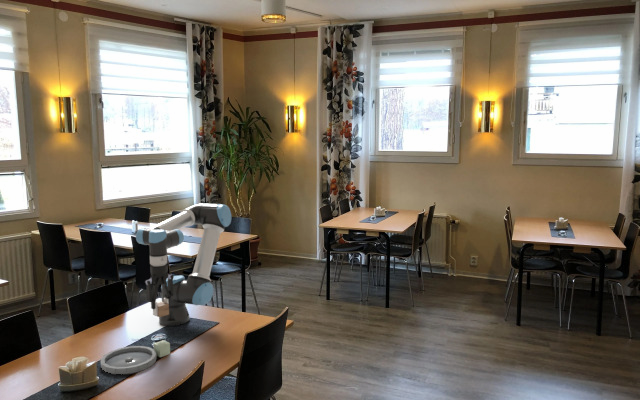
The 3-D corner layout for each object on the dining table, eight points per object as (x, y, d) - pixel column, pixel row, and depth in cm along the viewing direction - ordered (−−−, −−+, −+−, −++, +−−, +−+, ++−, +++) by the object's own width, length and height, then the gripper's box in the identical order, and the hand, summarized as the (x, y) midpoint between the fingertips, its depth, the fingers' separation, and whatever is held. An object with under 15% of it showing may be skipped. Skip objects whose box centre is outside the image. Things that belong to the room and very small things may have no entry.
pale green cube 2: (154, 354, 230) (153, 343, 229) (164, 350, 234) (163, 340, 233) (160, 357, 227) (159, 346, 226) (170, 353, 230) (169, 343, 230)
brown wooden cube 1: (153, 314, 238) (152, 304, 238) (162, 311, 242) (162, 301, 241) (159, 317, 235) (158, 306, 234) (169, 314, 239) (168, 303, 238)
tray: (91, 363, 220) (91, 357, 220) (139, 347, 237) (138, 341, 237) (117, 379, 206) (117, 373, 206) (166, 361, 223) (166, 355, 222)
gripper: (145, 269, 226) (147, 321, 229) (180, 261, 240) (182, 310, 243) (136, 266, 231) (138, 317, 234) (171, 259, 244) (173, 306, 248)
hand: (161, 313), depth 238 cm, fingers closed on brown wooden cube 1, 5 cm apart
